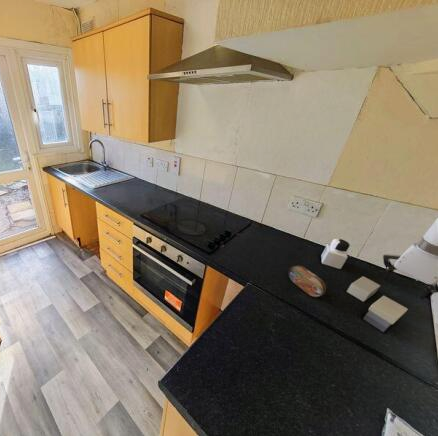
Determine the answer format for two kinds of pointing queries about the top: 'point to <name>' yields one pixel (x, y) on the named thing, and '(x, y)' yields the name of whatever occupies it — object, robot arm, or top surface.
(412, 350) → the top surface
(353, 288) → the beige block
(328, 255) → the container
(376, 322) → the grey block
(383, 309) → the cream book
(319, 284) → the tin
